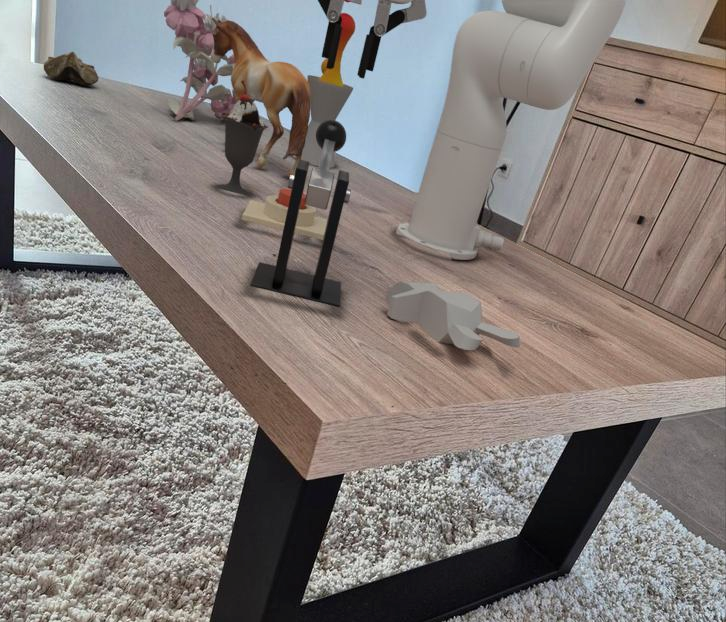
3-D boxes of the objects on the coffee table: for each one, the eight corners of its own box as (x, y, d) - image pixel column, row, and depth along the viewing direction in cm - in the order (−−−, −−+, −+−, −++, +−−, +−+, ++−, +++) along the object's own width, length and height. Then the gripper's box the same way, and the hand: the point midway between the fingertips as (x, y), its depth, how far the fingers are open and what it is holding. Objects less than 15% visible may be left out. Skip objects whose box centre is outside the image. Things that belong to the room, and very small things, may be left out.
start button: (305, 206, 90) (308, 193, 89) (303, 213, 87) (306, 200, 86) (278, 199, 89) (281, 186, 89) (275, 206, 86) (278, 192, 85)
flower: (262, 138, 134) (289, 14, 134) (145, 98, 126) (173, -35, 125) (242, 160, 153) (266, 51, 152) (139, 127, 145) (164, 11, 144)
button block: (327, 231, 94) (333, 207, 92) (325, 248, 87) (331, 222, 85) (248, 211, 92) (253, 186, 91) (240, 227, 85) (244, 200, 84)
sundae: (220, 181, 102) (236, 76, 96) (261, 194, 102) (281, 89, 95) (202, 188, 97) (218, 76, 90) (246, 202, 96) (266, 91, 89)
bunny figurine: (437, 272, 76) (537, 318, 65) (427, 316, 78) (523, 367, 67) (369, 270, 70) (466, 319, 59) (360, 317, 72) (452, 373, 61)
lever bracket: (257, 272, 73) (280, 151, 67) (338, 291, 74) (368, 175, 68) (248, 295, 67) (273, 164, 61) (337, 316, 68) (370, 190, 62)
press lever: (315, 136, 73) (321, 110, 70) (344, 144, 73) (350, 118, 71) (298, 206, 66) (303, 179, 63) (330, 215, 66) (337, 188, 64)
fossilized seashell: (103, 75, 146) (55, 70, 145) (95, 46, 140) (45, 41, 140) (95, 97, 142) (46, 93, 142) (87, 69, 137) (36, 64, 136)
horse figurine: (193, 135, 127) (210, 14, 118) (229, 140, 132) (248, 24, 123) (283, 189, 108) (311, 50, 99) (321, 192, 113) (351, 60, 104)
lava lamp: (342, 170, 135) (390, -29, 119) (301, 163, 130) (344, -45, 114) (325, 158, 141) (367, -32, 126) (285, 151, 137) (324, -48, 121)
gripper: (474, -112, 65) (418, 91, 73) (308, -167, 63) (270, 48, 71) (488, -128, 58) (425, 98, 66) (303, -190, 56) (261, 51, 64)
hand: (345, 70), depth 68 cm, fingers closed
